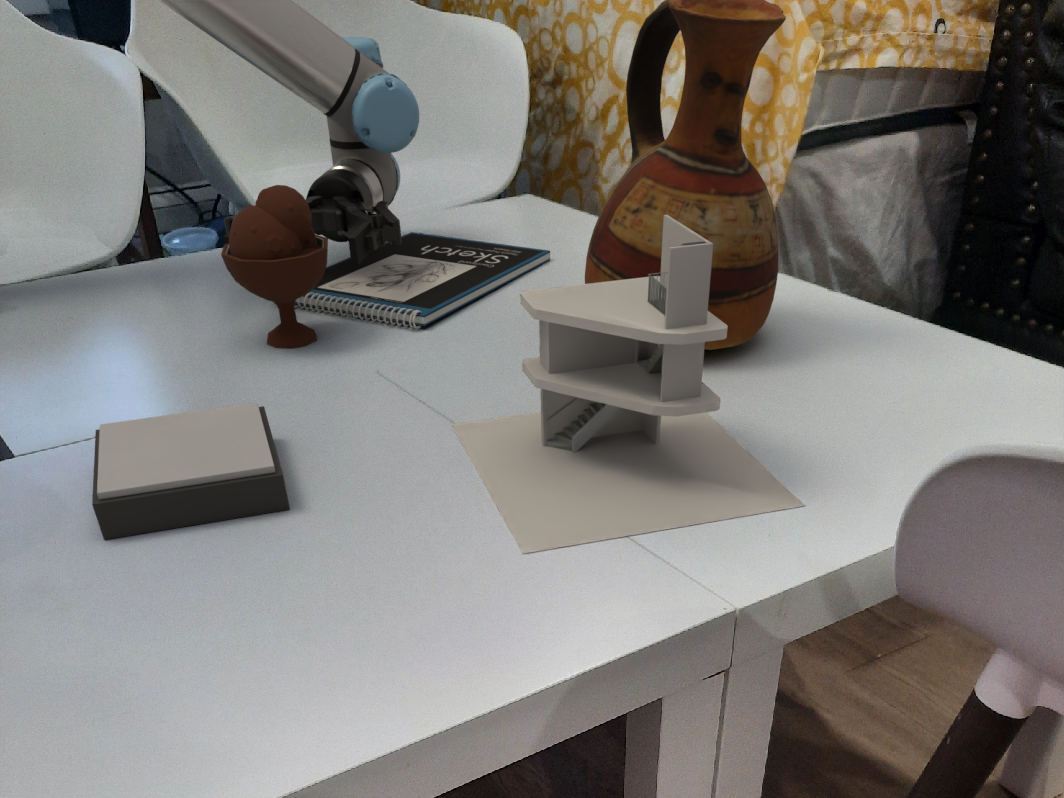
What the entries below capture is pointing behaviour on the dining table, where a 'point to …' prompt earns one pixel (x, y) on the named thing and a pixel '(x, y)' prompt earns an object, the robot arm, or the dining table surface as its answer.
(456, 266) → the sketchbook
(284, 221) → the ice cream bowl
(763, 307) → the ceramic pitcher
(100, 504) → the scale
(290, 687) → the dining table surface
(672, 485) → the architectural model
